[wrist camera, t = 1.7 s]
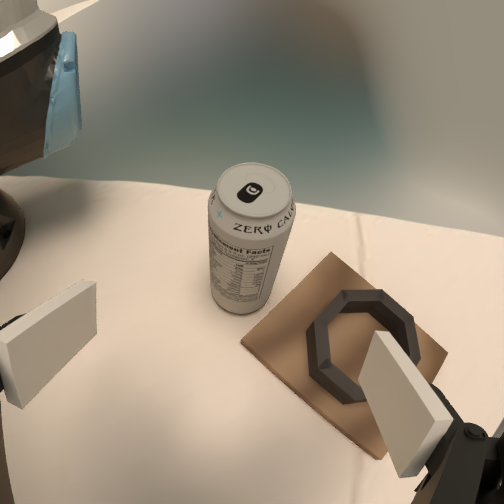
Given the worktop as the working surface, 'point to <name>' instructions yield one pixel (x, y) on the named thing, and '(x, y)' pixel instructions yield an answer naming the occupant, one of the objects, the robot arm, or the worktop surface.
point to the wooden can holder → (338, 345)
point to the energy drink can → (248, 234)
